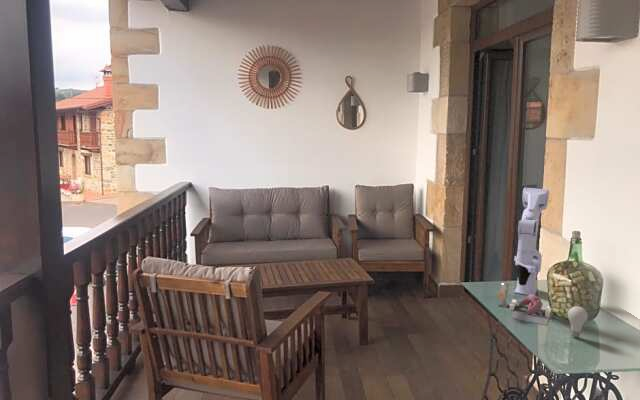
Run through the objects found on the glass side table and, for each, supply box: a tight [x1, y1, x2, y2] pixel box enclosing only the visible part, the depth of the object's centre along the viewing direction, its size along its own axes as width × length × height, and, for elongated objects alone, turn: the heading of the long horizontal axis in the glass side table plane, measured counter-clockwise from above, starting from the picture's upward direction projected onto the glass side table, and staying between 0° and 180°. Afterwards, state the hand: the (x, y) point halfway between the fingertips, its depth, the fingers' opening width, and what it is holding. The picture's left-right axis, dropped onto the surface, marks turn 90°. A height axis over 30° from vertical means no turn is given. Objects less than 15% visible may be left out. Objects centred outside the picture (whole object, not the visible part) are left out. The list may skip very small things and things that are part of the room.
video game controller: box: [518, 294, 543, 314], centre depth 200 cm, size 10×5×7 cm, turn 179°
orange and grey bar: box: [497, 281, 510, 299], centre depth 199 cm, size 13×3×2 cm, turn 154°
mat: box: [511, 310, 550, 326], centre depth 193 cm, size 8×12×1 cm, turn 61°
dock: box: [498, 289, 552, 318], centre depth 201 cm, size 7×19×7 cm, turn 61°
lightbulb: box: [567, 306, 589, 339], centre depth 177 cm, size 6×6×11 cm
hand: (522, 284), depth 201 cm, fingers closed
